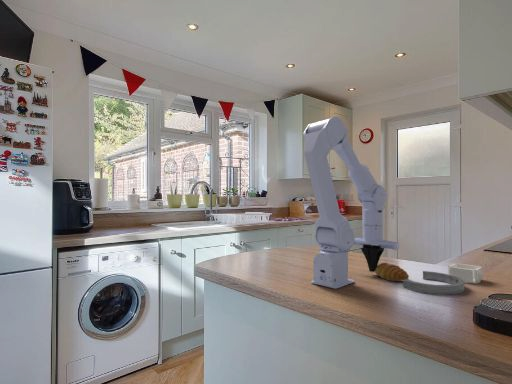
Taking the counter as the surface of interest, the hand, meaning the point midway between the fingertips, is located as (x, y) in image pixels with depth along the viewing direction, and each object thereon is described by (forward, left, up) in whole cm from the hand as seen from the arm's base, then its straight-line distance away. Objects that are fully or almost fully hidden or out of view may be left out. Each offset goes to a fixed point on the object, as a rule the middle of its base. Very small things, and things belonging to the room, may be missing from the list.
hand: (372, 271), depth 96 cm
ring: (0, -17, -1) cm, 17 cm away
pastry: (+1, -5, -1) cm, 6 cm away
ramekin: (+13, -21, -1) cm, 24 cm away
